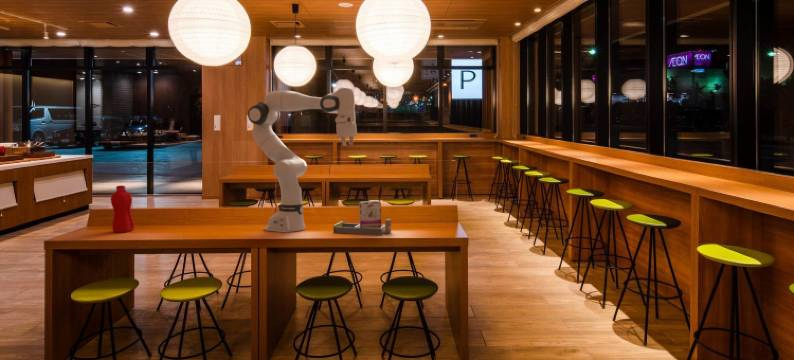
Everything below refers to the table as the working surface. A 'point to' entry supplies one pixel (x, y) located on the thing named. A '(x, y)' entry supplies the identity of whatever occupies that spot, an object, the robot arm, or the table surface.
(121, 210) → the water bottle
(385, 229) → the crate carriage
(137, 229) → the table surface
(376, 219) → the candy bar box
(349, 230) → the bay
